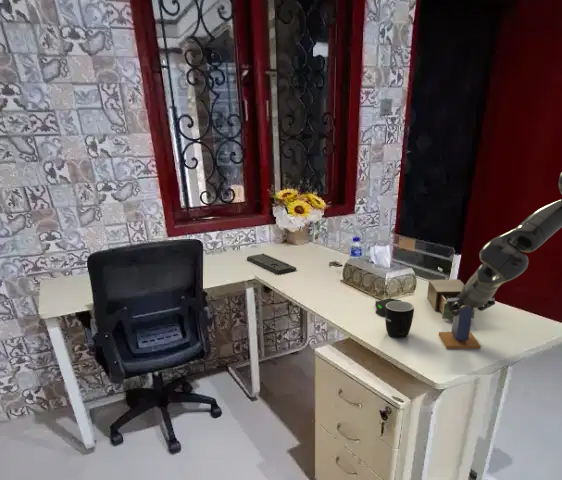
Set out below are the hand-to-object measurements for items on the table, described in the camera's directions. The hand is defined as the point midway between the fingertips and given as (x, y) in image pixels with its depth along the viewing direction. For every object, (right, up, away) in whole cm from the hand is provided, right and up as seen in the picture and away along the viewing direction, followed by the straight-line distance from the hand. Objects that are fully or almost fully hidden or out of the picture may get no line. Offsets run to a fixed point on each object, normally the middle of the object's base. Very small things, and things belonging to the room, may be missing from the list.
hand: (460, 312), depth 129 cm
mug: (-17, -7, +8) cm, 20 cm away
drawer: (+6, +1, +19) cm, 20 cm away
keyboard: (-62, +31, +92) cm, 115 cm away
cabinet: (+7, +5, +30) cm, 32 cm away
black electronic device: (-15, +2, +28) cm, 31 cm away
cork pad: (0, -9, +2) cm, 9 cm away
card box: (0, -7, +1) cm, 7 cm away
